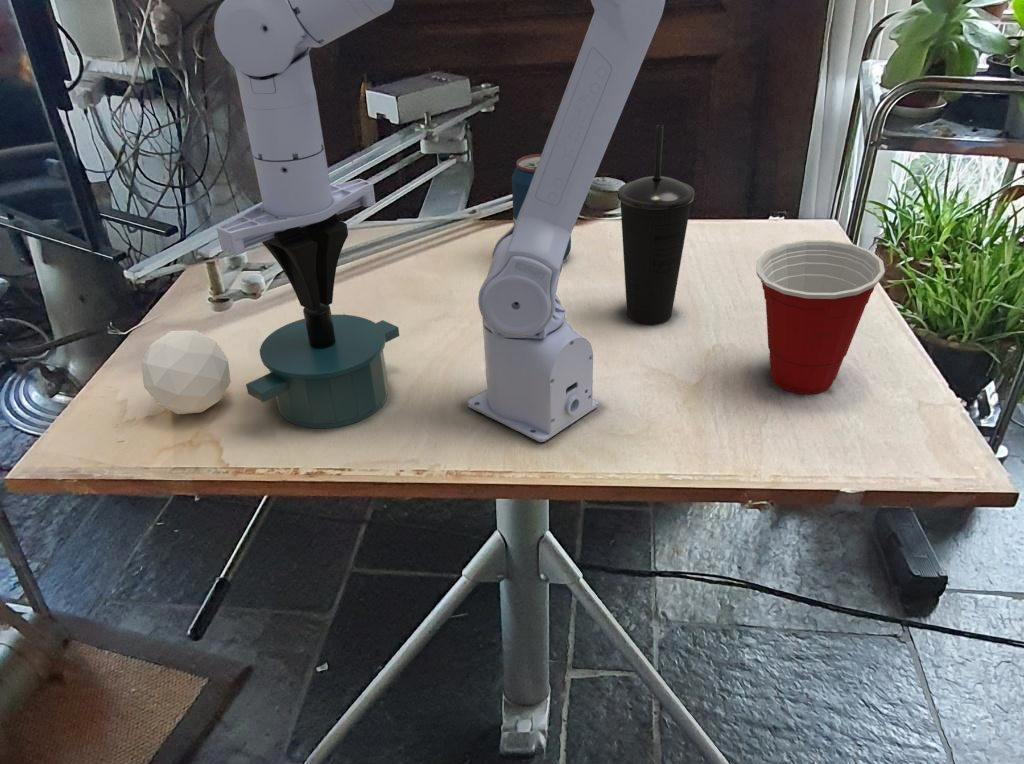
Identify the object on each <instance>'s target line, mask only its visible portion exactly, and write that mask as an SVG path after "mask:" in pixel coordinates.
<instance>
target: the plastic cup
mask: <svg viewBox="0 0 1024 764" xmlns="http://www.w3.org/2000/svg"><path fill="white" fill-rule="evenodd" d="M755 273H756V276H757V277H758V278H759V280H760V283H761V285H762V286H761V287H762V290H763V296H764V300H765V313H766V314H765V315H766V328H767V332H766V333H767V349H768V350H769V374H770V378H771V380H772V381H773V383H774V384H775V385H776V386H778V387H779V388H781V389H783V390H785V391H788V392H791V393H794V394H803V395H804V394H805V395H811V394H820V393H822V392H824V391H827V390H829V388H830V387H831V386H832V385H833V383H834V381H835V380H836V379H837V377H838V373H839V371H840V368H841V367H842V364H843V361H844V358H845V357H846V356H847V354H848V351H849V349H850V347H851V344H852V341H853V338H854V336H855V334H856V331H857V329H858V327H859V324H860V321H861V319H862V316H863V314H864V311H865V309H866V306H867V305H868V303H869V301H870V299H871V296H872V294H873V292H874V290H875V288H876V286H877V284H878V283H880V281H881V280H882V278H883V277H884V275H885V273H886V270H885V264H884V261H883V259H881V258H880V257H879V256H878V255H876V253H874V252H873V250H870V249H867V248H865V247H863V246H859V245H857V244H855V243H850V242H844V241H837V240H831V239H804V240H799V241H793V242H787V243H783V244H780V245H778V246H775V247H773V248H771V249H768V250H766V251H765V252H764V253H763V254H762V255H761V256H760V257H759V258H757V259H756V263H755Z"/></svg>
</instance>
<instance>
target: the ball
mask: <svg viewBox="0 0 1024 764" xmlns="http://www.w3.org/2000/svg"><path fill="white" fill-rule="evenodd" d="M141 372H142V384H143V388H144V389H145V390H146V391H147V392H148V394H149V395H150V396H151V398H153V400H154V401H155V402H156V403H157V404H158V405H160V406H162V407H163V408H165V409H167V410H169V411H171V412H172V413H174V414H176V415H185V414H186V415H188V414H197V413H198V414H199V413H200V414H201V413H203V412H205V411H206V410H208V409H209V408H210V407H212V406H213V405H215V404H217V403H218V402H219V401H221V400H222V398H223V396H224V394H226V393H225V392H226V391H227V389H228V388H229V386H230V385H231V383H232V381H231V373H230V365H229V358H228V357H227V355H226V354H225V352H224V351H223V349H222V348H221V346H220V345H219V344H218V342H217V341H216V340H214V339H213V338H211V337H209V336H207V335H206V334H204V333H201V331H198V330H197V329H194V330H193V329H192V330H191V329H190V330H170V331H168V333H165V334H164V335H162V336H161V337H159V338H158V339H157V340H155V341H154V342H152V343H150V345H149V347H148V349H147V351H146V353H145V354H144V356H143V358H142V360H141Z"/></svg>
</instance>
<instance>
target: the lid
mask: <svg viewBox="0 0 1024 764" xmlns="http://www.w3.org/2000/svg"><path fill="white" fill-rule="evenodd" d="M302 312H303V317H304V318H302V319H298V320H295V321H293V322H290V323H287V324H284V325H283V326H280V327H279V328H277V329H276V330H274V331H273V332H271V333H270V334H269V335H268V336H267V337H266V338H265V339H264V340H263V342H262V343H261V345H260V347H259V357H260V361H261V363H262V364H263V366H264V367H265V368H266V369H267V370H268V371H269V370H270V371H272V372H274V373H276V374H279V375H282V376H285V377H290V378H297V379H321V378H329V377H334V376H339V375H343V374H346V373H349V372H352V371H355V370H357V369H360V368H362V367H364V366H366V365H367V364H369V363H370V362H372V361H373V360H375V359H376V358H377V357H378V356H379V355H380V354H381V352H382V351H383V352H384V349H385V346H386V343H385V335H384V332H383V330H382V329H381V327H380V326H379V325H377V324H376V323H377V322H374V321H372V320H370V319H368V318H365V317H361V316H358V315H352V314H351V315H350V314H332V310H331V306H330V305H327V306H326V305H324V304H322V303H320V309H318V310H316V311H311V310H309V309H307V308H305V307H303V309H302ZM270 371H269V372H270Z"/></svg>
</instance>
